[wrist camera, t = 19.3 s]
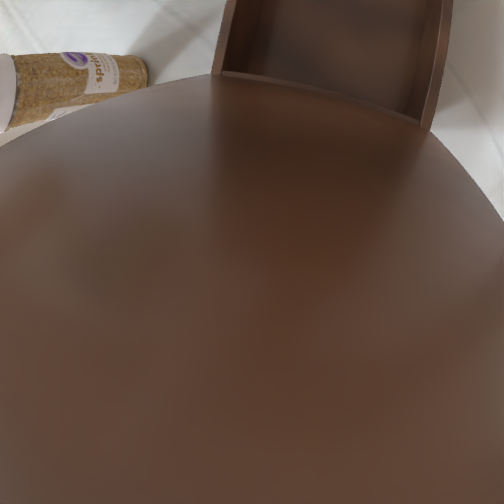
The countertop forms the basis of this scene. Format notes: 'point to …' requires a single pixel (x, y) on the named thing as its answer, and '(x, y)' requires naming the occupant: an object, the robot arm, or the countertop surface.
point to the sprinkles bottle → (62, 83)
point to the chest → (342, 50)
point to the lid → (246, 305)
